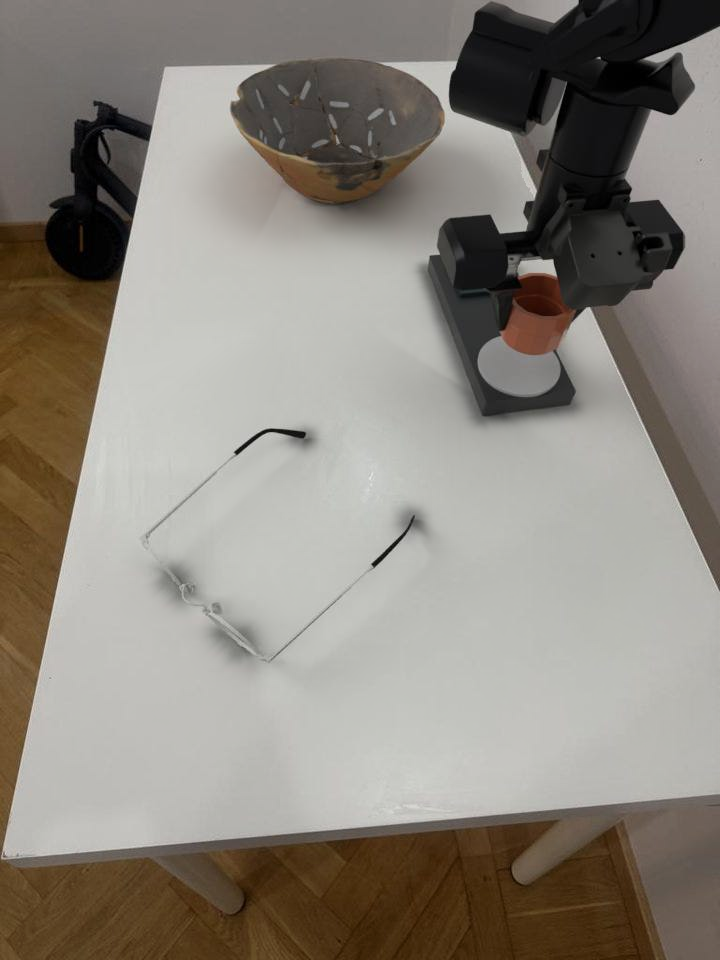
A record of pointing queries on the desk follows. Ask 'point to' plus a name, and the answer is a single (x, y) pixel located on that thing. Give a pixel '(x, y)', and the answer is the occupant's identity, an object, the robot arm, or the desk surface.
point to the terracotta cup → (537, 316)
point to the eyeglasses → (215, 604)
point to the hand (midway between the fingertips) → (533, 324)
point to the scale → (497, 354)
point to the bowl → (337, 124)
